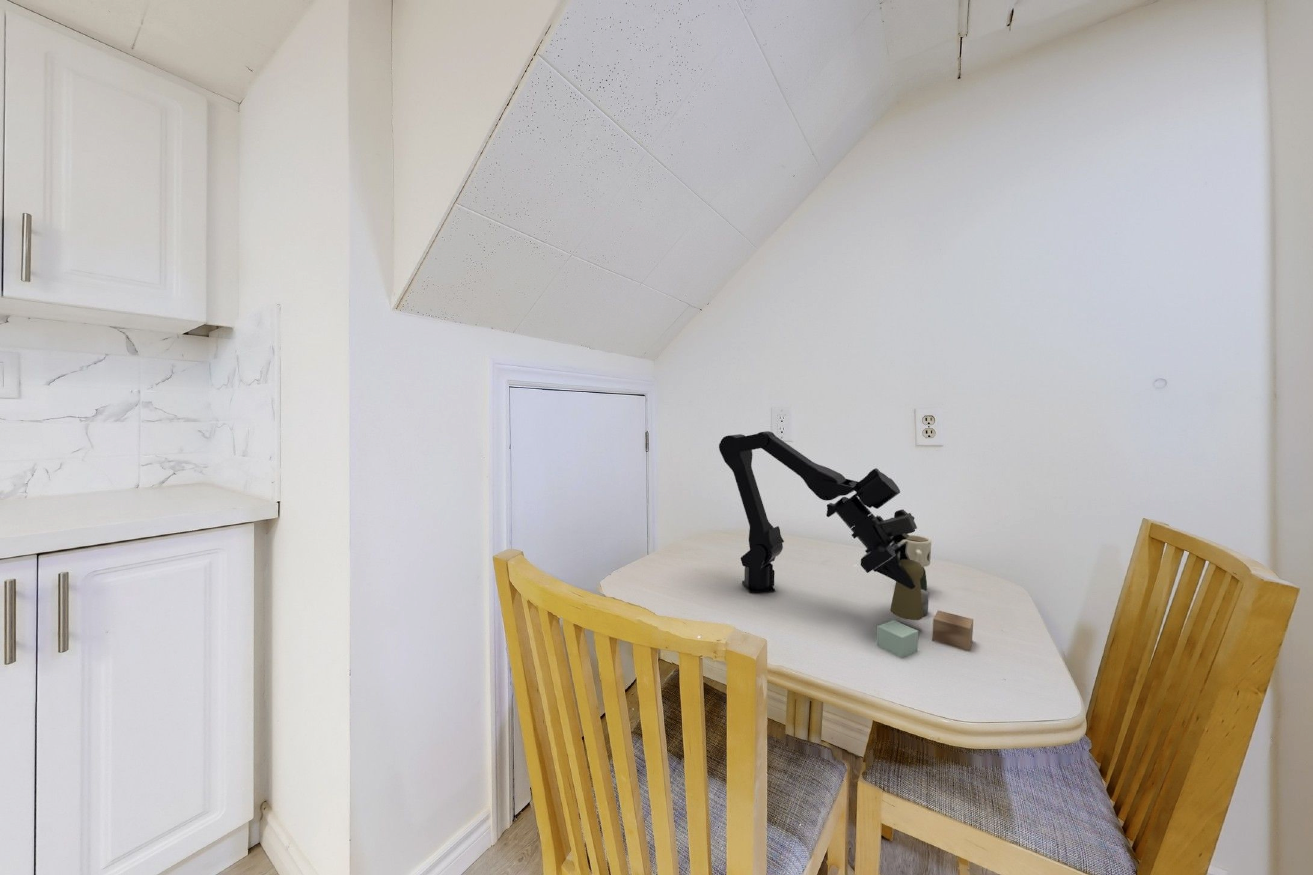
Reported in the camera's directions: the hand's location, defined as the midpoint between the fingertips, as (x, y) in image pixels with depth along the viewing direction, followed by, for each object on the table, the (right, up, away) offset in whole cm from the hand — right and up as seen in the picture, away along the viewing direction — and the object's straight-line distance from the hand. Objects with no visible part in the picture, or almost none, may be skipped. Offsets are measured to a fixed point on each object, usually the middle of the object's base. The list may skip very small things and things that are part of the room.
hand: (915, 583), depth 94 cm
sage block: (-7, -10, -6) cm, 14 cm away
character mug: (+11, -8, +21) cm, 26 cm away
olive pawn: (-1, -7, +1) cm, 7 cm away
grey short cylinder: (+5, -9, +9) cm, 14 cm away
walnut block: (+5, -10, -3) cm, 12 cm away
